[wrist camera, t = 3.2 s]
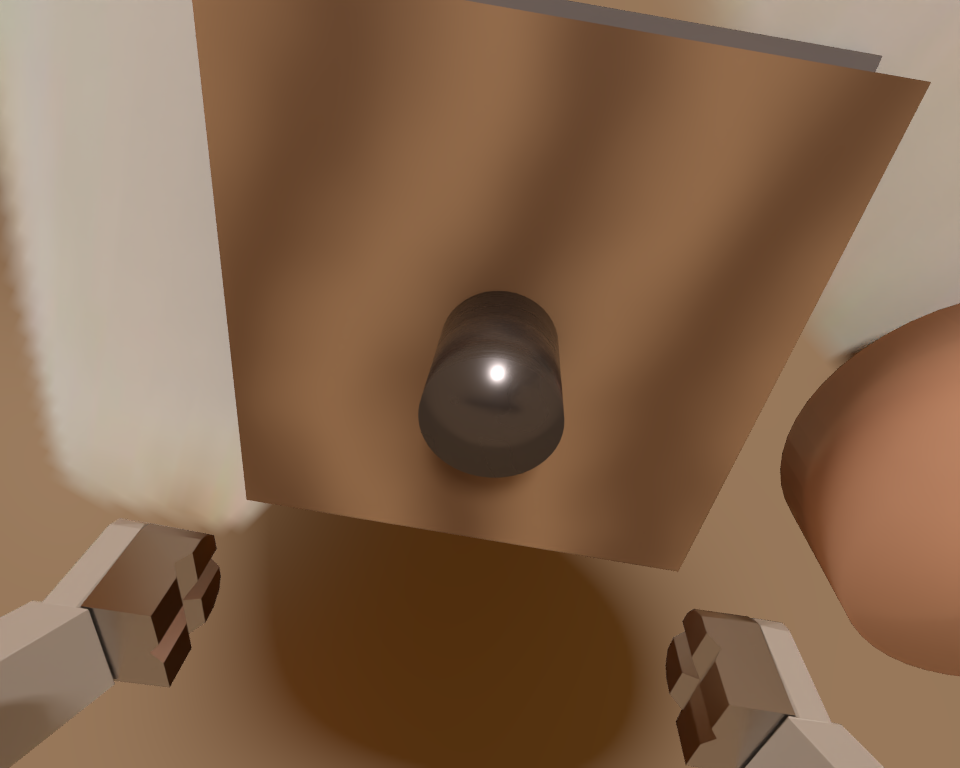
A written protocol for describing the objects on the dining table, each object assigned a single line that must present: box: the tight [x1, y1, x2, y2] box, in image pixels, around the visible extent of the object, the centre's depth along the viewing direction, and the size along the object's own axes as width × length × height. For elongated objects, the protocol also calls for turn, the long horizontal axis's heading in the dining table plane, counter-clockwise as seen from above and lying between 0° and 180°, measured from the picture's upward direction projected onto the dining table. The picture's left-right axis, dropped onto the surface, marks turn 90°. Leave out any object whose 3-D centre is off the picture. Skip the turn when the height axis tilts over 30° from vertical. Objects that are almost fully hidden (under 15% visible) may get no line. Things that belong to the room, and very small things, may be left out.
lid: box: [192, 0, 931, 572], centre depth 17 cm, size 17×17×8 cm
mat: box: [466, 0, 882, 72], centre depth 20 cm, size 18×18×1 cm
